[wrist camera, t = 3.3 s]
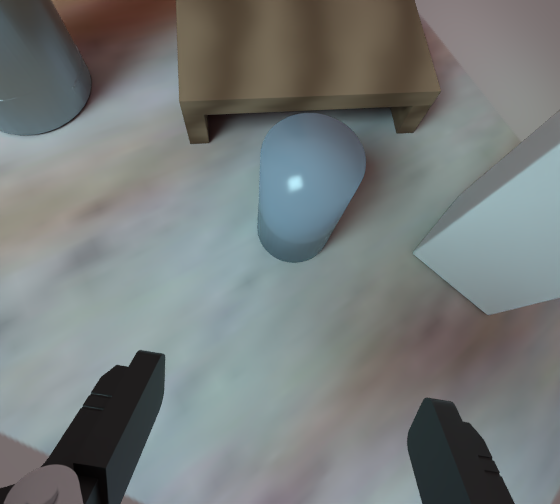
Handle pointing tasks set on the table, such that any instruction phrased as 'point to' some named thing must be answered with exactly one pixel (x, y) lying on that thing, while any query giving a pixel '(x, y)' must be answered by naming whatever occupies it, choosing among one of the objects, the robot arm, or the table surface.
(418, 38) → the shelf
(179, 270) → the table surface
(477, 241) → the milk carton
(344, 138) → the blue dome-topped cylinder
